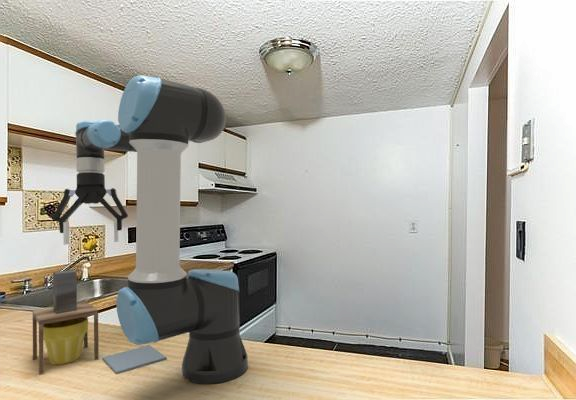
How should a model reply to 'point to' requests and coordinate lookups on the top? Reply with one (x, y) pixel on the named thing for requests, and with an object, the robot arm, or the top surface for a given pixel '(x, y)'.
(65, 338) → the plant pot
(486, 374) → the top surface
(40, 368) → the brown legged piece
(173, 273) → the robot arm
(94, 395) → the top surface
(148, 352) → the mat
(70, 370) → the top surface
